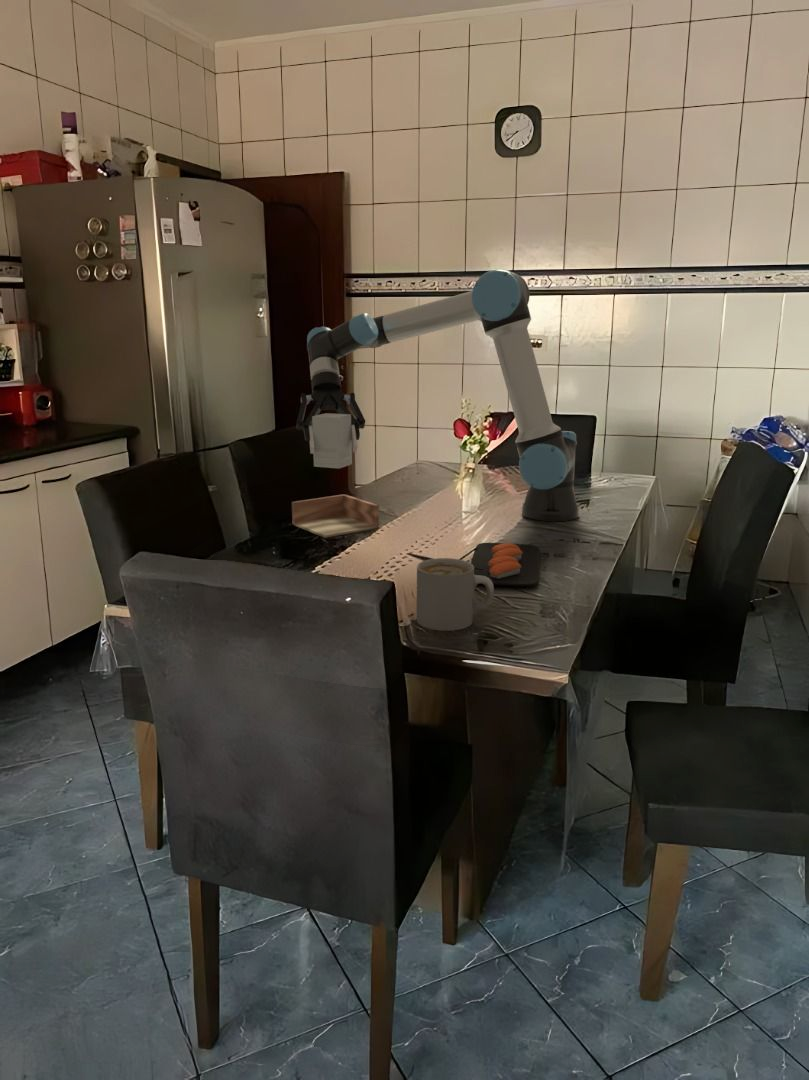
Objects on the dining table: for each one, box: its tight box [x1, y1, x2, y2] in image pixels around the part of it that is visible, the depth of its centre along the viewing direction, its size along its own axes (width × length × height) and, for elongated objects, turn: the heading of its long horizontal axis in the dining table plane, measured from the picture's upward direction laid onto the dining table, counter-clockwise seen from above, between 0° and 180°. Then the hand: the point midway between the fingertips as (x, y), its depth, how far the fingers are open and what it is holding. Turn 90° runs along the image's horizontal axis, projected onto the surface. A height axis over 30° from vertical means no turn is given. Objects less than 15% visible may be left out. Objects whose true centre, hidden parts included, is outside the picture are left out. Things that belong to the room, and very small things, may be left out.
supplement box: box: [312, 412, 353, 469], centre depth 199 cm, size 7×7×13 cm
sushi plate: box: [405, 542, 541, 587], centre depth 173 cm, size 29×30×4 cm
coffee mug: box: [416, 557, 495, 632], centre depth 140 cm, size 13×10×10 cm
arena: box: [291, 493, 380, 539], centre depth 205 cm, size 16×16×6 cm
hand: (334, 449), depth 196 cm, fingers closed on supplement box, 10 cm apart
